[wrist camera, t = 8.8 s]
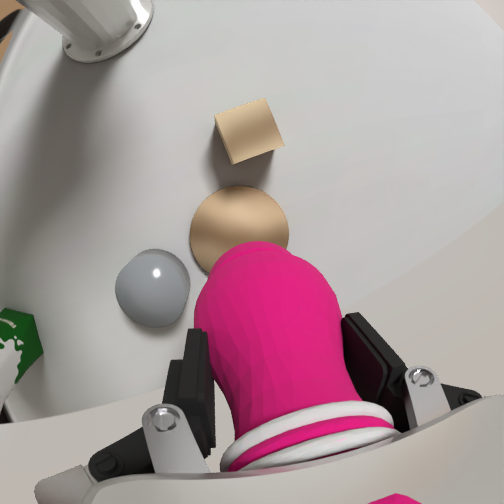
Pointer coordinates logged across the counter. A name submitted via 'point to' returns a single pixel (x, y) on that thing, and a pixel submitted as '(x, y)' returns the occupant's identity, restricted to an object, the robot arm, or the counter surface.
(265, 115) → the oak block
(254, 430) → the pepper mill
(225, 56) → the counter surface
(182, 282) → the grey rounded dome
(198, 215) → the cork trivet
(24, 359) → the milk carton
